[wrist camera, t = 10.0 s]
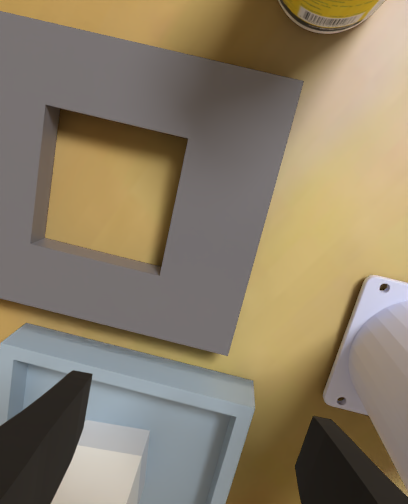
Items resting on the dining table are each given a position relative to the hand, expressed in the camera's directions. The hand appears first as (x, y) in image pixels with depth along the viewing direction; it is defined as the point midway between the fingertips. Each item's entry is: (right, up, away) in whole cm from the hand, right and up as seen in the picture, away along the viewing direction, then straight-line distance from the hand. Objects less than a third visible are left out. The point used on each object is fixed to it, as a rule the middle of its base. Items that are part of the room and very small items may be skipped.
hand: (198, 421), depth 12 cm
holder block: (-5, +9, +8) cm, 13 cm away
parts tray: (-5, -7, +12) cm, 15 cm away
